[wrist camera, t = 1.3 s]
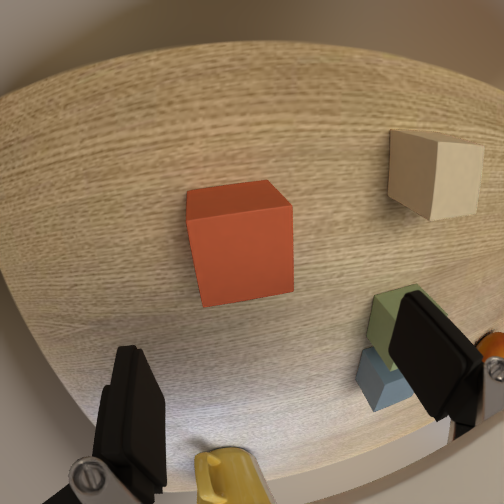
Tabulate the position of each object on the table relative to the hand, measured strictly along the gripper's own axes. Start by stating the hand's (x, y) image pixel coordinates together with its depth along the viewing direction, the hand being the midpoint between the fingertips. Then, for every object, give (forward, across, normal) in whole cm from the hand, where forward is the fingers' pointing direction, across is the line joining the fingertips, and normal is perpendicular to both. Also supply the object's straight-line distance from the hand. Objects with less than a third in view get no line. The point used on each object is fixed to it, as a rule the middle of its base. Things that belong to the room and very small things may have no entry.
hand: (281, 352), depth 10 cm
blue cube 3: (+11, -14, +18) cm, 25 cm away
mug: (+12, +5, +30) cm, 33 cm away
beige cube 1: (+11, -14, -4) cm, 18 cm away
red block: (+11, 0, 0) cm, 11 cm away
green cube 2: (+11, -14, +10) cm, 21 cm away
